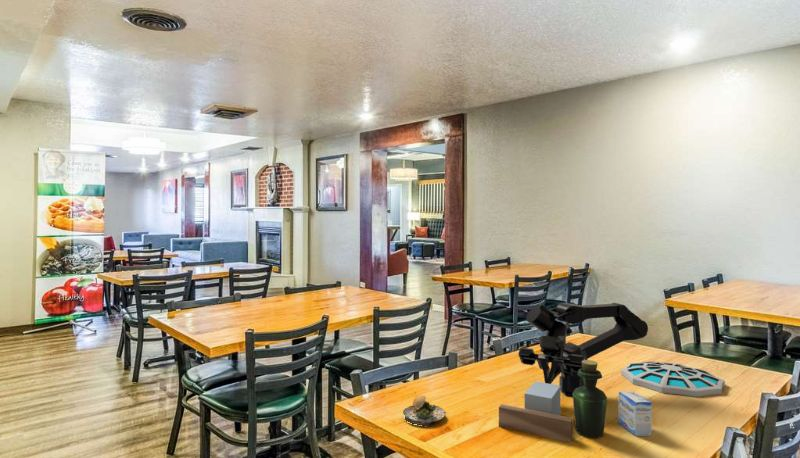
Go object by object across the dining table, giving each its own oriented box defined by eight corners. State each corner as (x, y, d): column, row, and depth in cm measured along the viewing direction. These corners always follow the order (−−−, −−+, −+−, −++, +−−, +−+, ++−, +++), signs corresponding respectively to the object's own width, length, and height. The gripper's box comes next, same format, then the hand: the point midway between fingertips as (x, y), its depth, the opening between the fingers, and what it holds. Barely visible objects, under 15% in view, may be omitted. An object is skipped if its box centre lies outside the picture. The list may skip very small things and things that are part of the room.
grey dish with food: (433, 432, 118) (433, 403, 117) (394, 421, 124) (394, 394, 124) (453, 415, 128) (453, 388, 128) (416, 406, 134) (416, 381, 134)
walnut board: (501, 422, 122) (501, 404, 122) (572, 438, 113) (572, 418, 113) (498, 426, 120) (498, 407, 120) (570, 442, 111) (570, 421, 111)
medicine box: (617, 423, 122) (617, 390, 122) (633, 422, 122) (633, 390, 122) (635, 436, 114) (635, 402, 114) (652, 436, 115) (652, 401, 114)
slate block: (535, 408, 132) (535, 381, 132) (560, 414, 128) (560, 385, 128) (524, 423, 122) (524, 393, 122) (551, 429, 119) (551, 398, 119)
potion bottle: (579, 440, 112) (580, 367, 112) (567, 425, 121) (567, 357, 120) (612, 440, 112) (613, 367, 112) (598, 425, 121) (598, 357, 120)
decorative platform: (624, 389, 148) (624, 374, 148) (618, 364, 175) (618, 351, 175) (738, 403, 136) (738, 387, 136) (713, 374, 163) (713, 360, 163)
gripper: (520, 321, 141) (509, 366, 131) (584, 328, 131) (577, 377, 122) (527, 341, 148) (517, 385, 138) (588, 349, 138) (582, 397, 129)
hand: (546, 385), depth 132 cm, fingers closed
